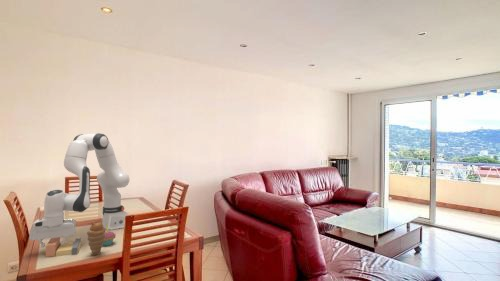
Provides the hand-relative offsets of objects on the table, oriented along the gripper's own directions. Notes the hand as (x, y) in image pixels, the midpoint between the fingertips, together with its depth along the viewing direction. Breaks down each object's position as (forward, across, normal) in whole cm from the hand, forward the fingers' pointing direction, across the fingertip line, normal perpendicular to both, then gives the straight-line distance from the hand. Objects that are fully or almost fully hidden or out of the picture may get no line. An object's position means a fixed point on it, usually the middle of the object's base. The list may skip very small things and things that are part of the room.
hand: (53, 245), depth 144 cm
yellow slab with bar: (+4, -7, 0) cm, 8 cm away
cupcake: (+4, -26, -2) cm, 27 cm away
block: (+4, 0, 0) cm, 4 cm away
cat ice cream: (+4, -21, +11) cm, 24 cm away
